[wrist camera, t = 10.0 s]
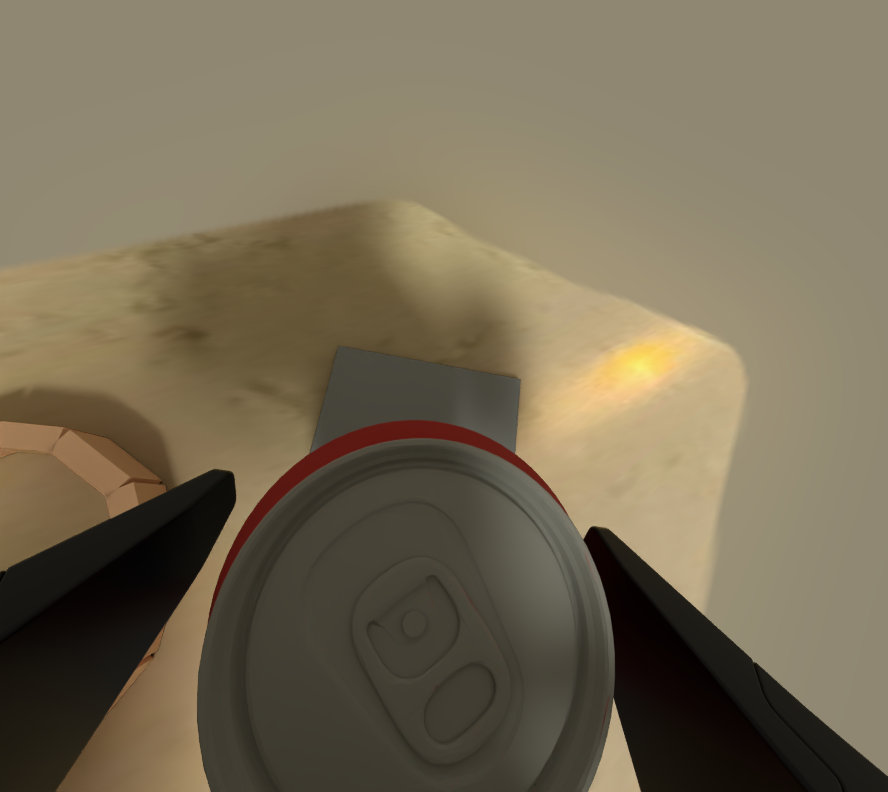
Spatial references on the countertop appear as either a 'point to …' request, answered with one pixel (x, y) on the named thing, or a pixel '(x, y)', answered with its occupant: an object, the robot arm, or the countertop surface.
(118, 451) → the segmented polygon ring
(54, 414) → the countertop surface
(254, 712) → the beverage can
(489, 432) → the mat
